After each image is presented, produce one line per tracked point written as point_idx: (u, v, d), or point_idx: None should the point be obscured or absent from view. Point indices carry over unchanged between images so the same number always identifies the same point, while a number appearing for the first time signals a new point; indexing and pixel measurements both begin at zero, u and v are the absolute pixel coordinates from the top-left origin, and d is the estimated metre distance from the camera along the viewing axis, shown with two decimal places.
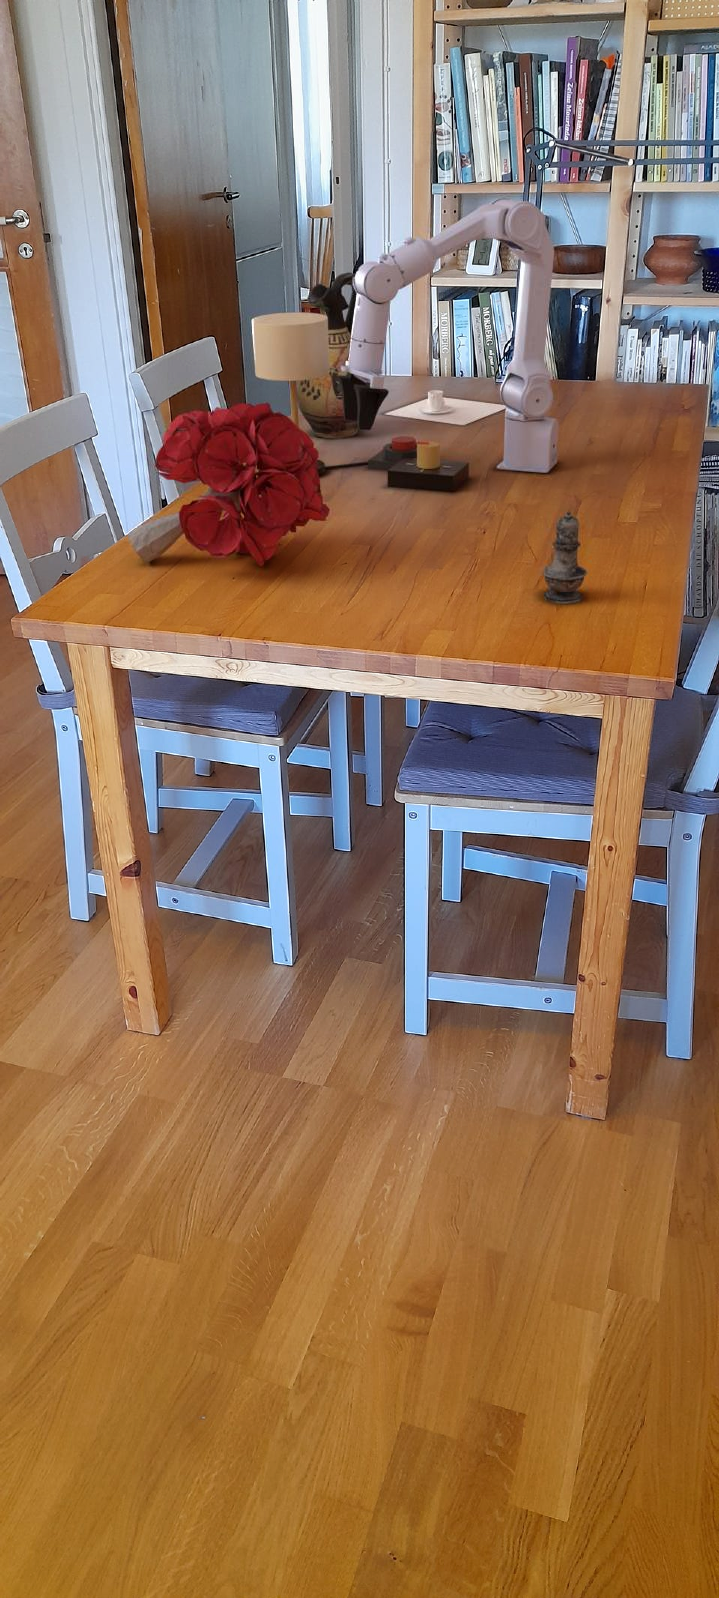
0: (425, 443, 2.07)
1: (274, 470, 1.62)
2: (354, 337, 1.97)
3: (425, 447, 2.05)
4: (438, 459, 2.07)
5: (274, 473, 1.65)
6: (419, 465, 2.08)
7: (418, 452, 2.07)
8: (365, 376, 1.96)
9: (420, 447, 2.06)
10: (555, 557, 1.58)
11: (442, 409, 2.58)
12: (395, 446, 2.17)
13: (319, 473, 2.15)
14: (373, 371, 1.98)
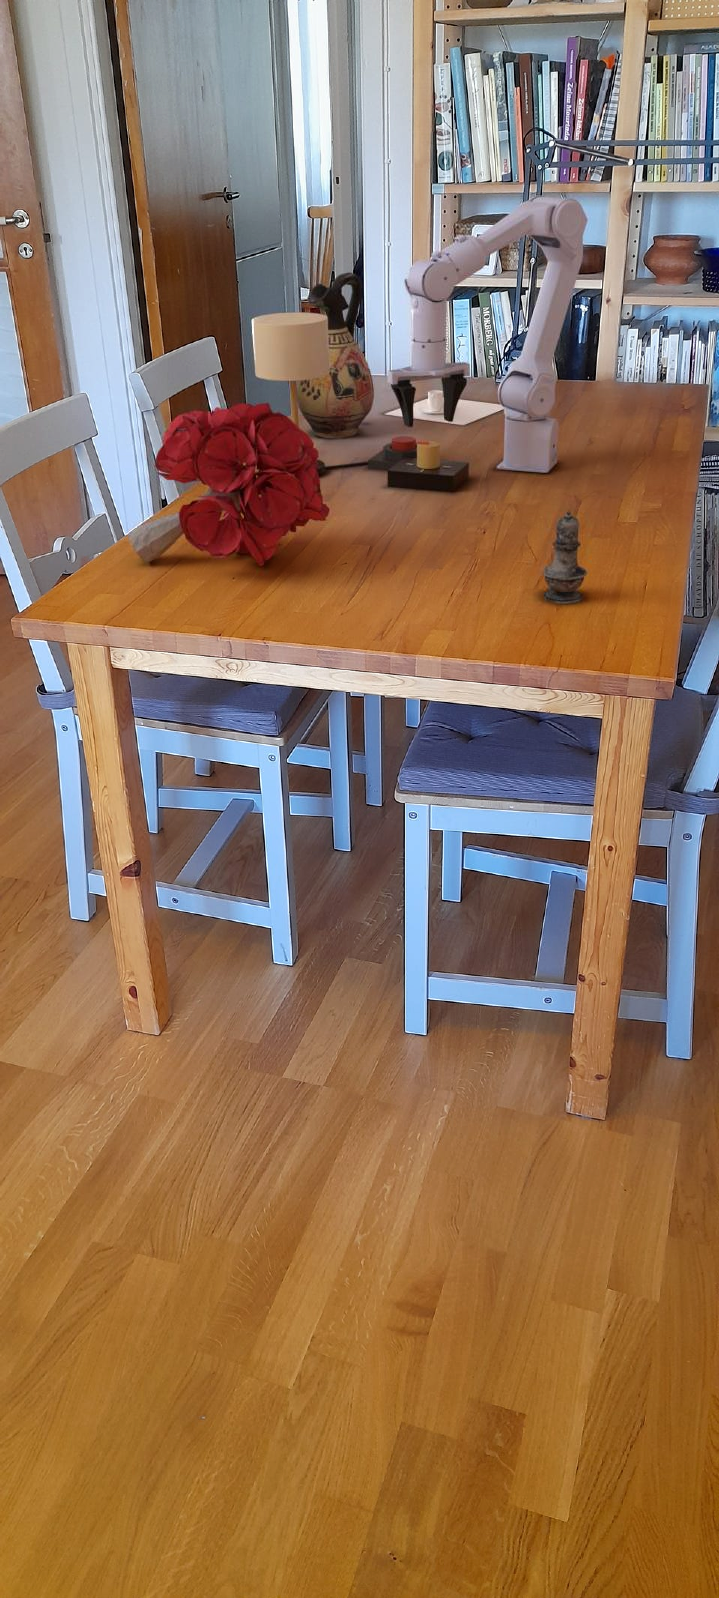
0: (425, 443, 2.07)
1: (274, 470, 1.62)
2: (417, 339, 1.96)
3: (425, 447, 2.05)
4: (438, 459, 2.07)
5: (274, 473, 1.65)
6: (419, 465, 2.08)
7: (418, 452, 2.07)
8: (459, 368, 2.01)
9: (420, 447, 2.06)
10: (555, 557, 1.58)
11: (442, 409, 2.58)
12: (395, 446, 2.17)
13: (319, 473, 2.15)
14: None
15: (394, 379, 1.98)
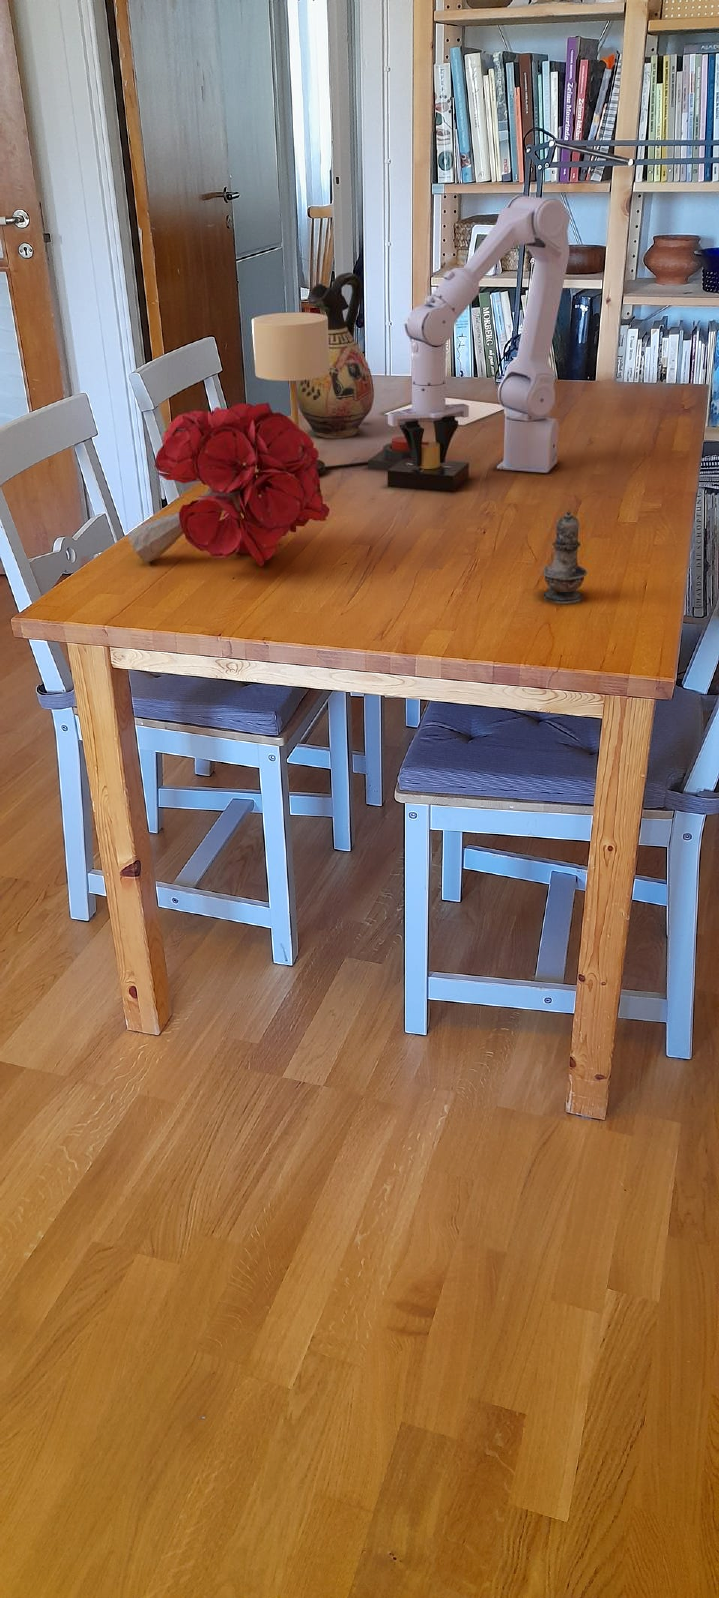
0: (425, 443, 2.07)
1: (274, 470, 1.62)
2: (417, 382, 2.00)
3: (425, 447, 2.05)
4: (438, 459, 2.07)
5: (274, 473, 1.65)
6: None
7: None
8: (458, 410, 2.05)
9: None
10: (555, 557, 1.58)
11: None
12: (395, 446, 2.17)
13: (319, 473, 2.15)
14: None
15: (395, 421, 2.01)
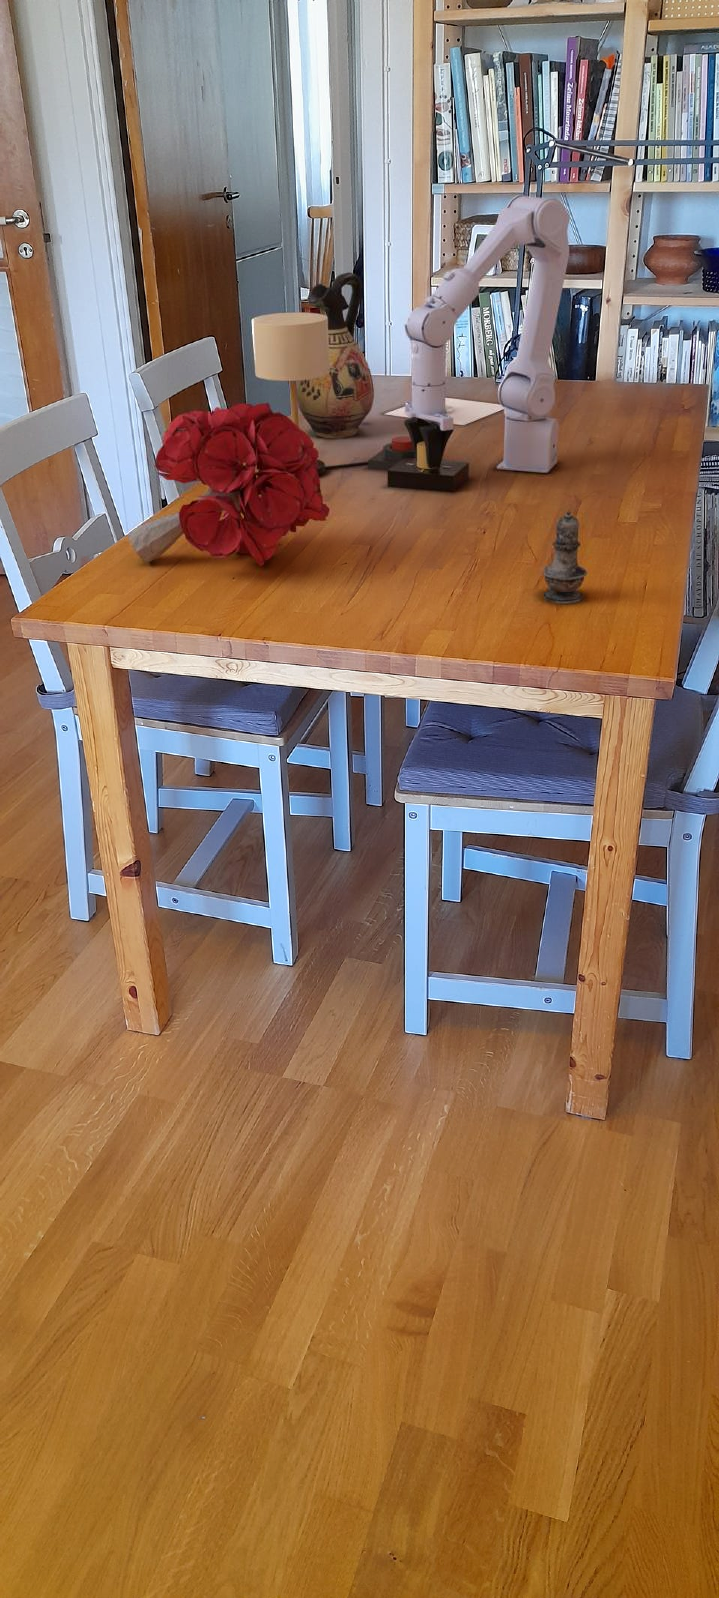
0: None
1: (274, 470, 1.62)
2: (417, 383, 2.00)
3: (417, 444, 2.07)
4: (423, 460, 2.07)
5: (274, 473, 1.65)
6: None
7: None
8: (434, 419, 2.00)
9: None
10: (555, 557, 1.58)
11: None
12: (395, 446, 2.17)
13: (319, 473, 2.15)
14: (439, 412, 2.02)
15: (406, 409, 2.09)
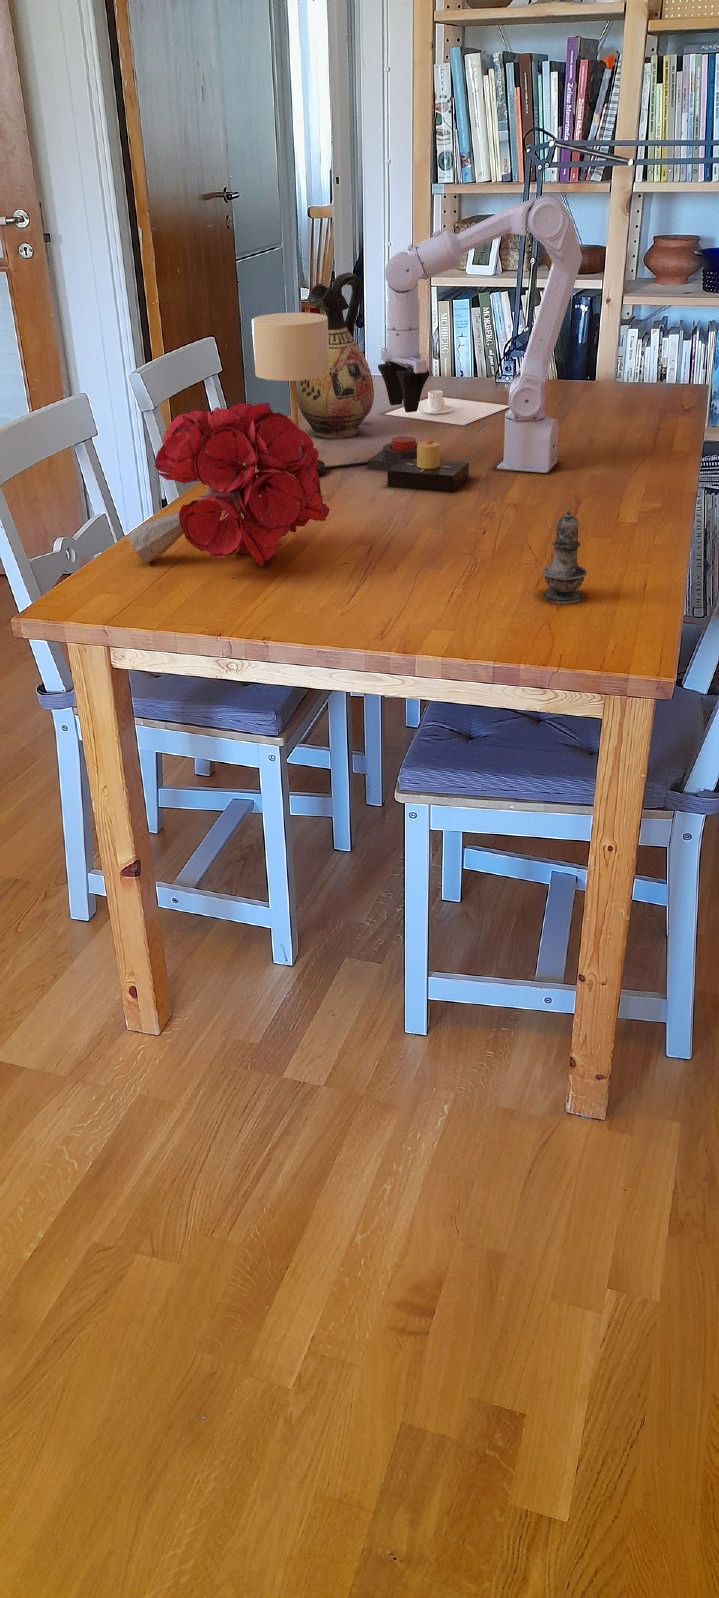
0: (427, 442, 2.07)
1: (274, 470, 1.62)
2: (387, 326, 2.08)
3: (417, 444, 2.07)
4: (423, 460, 2.07)
5: (274, 473, 1.65)
6: None
7: None
8: (407, 363, 2.06)
9: None
10: (555, 557, 1.58)
11: (442, 409, 2.58)
12: (395, 446, 2.17)
13: (319, 473, 2.15)
14: (413, 356, 2.08)
15: (382, 355, 2.16)
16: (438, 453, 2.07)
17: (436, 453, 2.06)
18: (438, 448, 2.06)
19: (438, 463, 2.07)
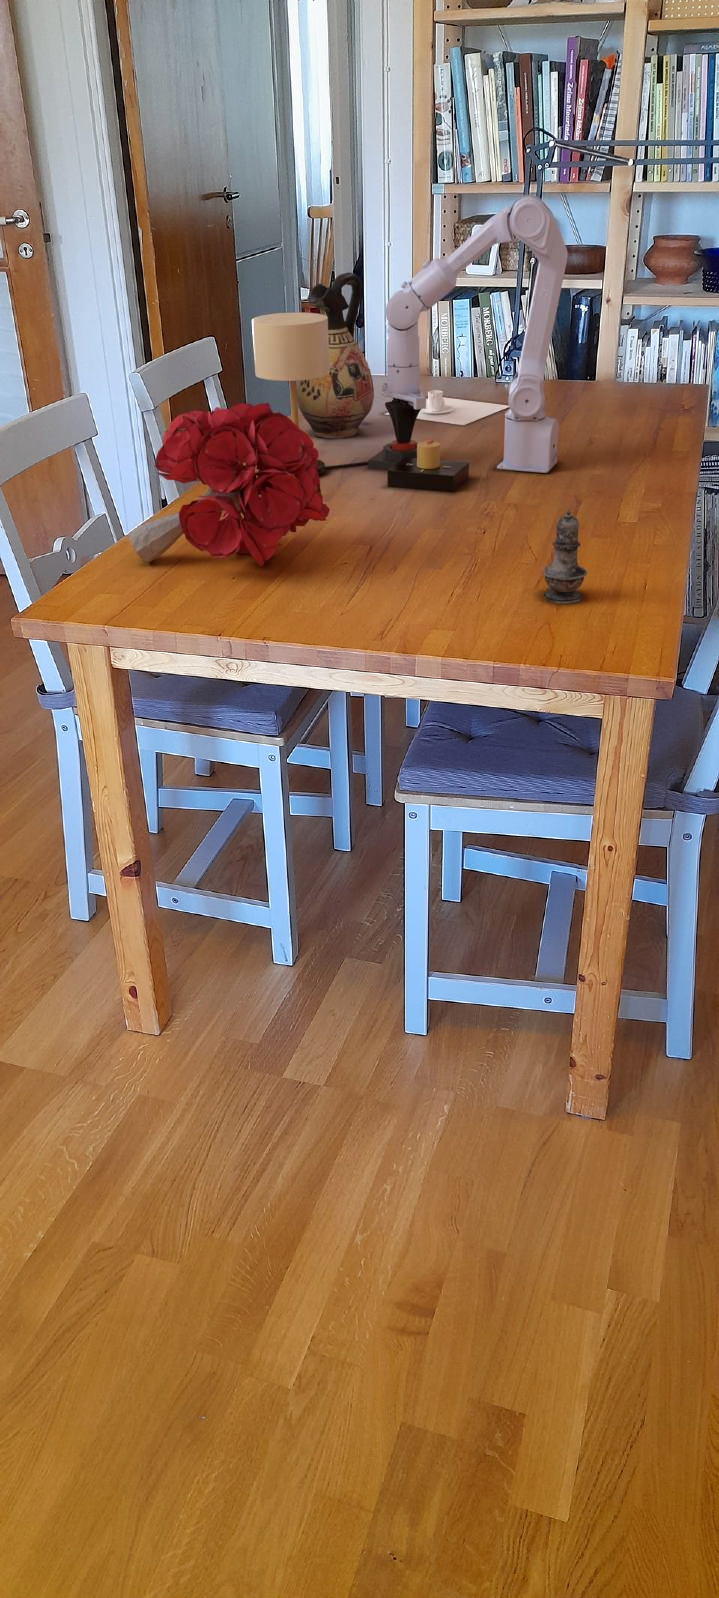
0: (427, 442, 2.07)
1: (274, 470, 1.62)
2: (387, 362, 2.11)
3: (417, 444, 2.07)
4: (423, 460, 2.07)
5: (274, 473, 1.65)
6: None
7: None
8: (407, 399, 2.09)
9: None
10: (555, 557, 1.58)
11: (442, 409, 2.58)
12: (395, 449, 2.17)
13: (319, 473, 2.15)
14: (413, 392, 2.11)
15: (382, 389, 2.19)
16: (438, 453, 2.07)
17: (436, 453, 2.06)
18: (438, 448, 2.06)
19: (438, 463, 2.07)
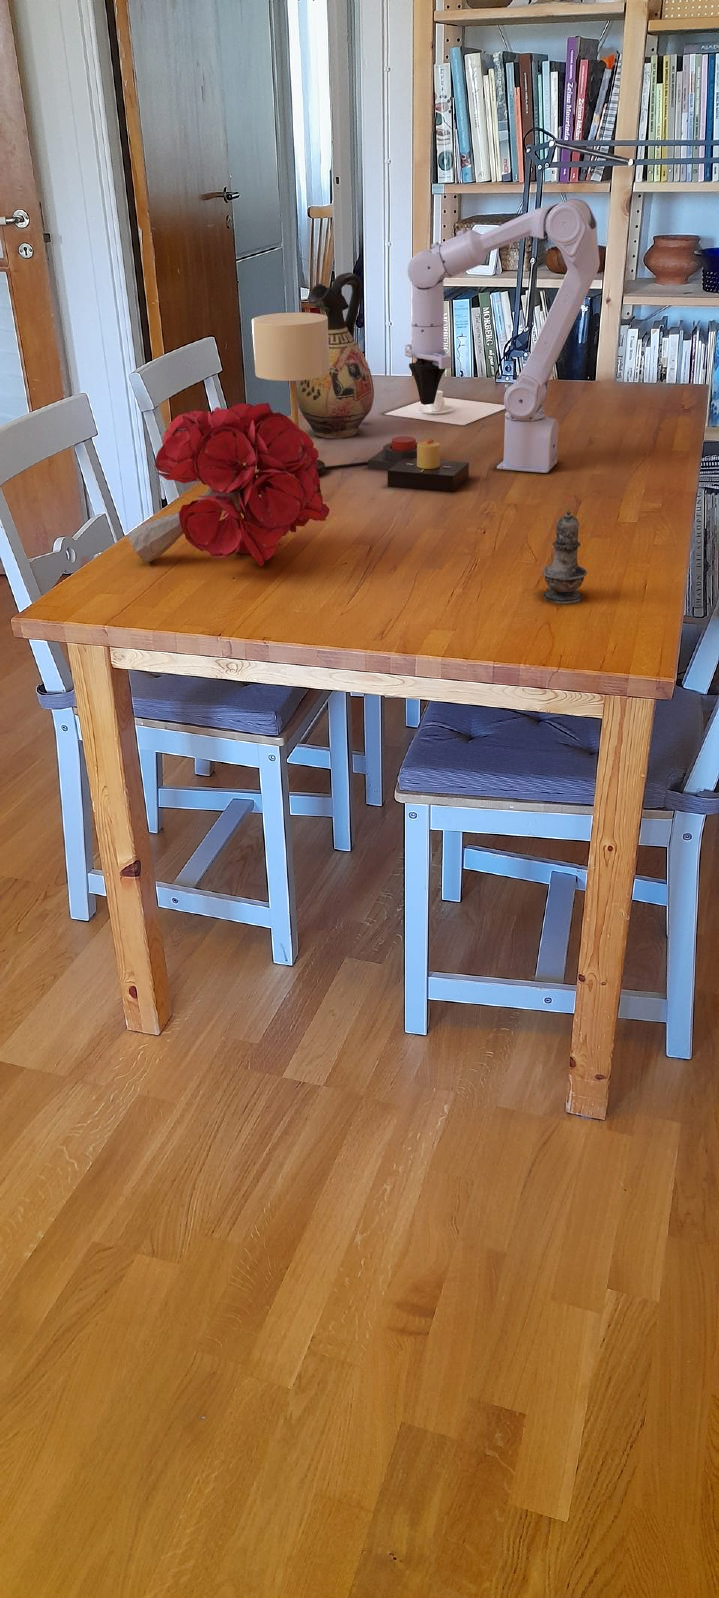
0: (427, 442, 2.07)
1: (274, 470, 1.62)
2: (411, 322, 2.11)
3: (417, 444, 2.07)
4: (423, 460, 2.07)
5: (274, 473, 1.65)
6: None
7: None
8: (432, 358, 2.09)
9: None
10: (555, 557, 1.58)
11: (442, 409, 2.58)
12: (395, 446, 2.17)
13: (319, 473, 2.15)
14: (437, 352, 2.11)
15: (406, 351, 2.19)
16: (438, 453, 2.07)
17: (436, 453, 2.06)
18: (438, 448, 2.06)
19: (438, 463, 2.07)
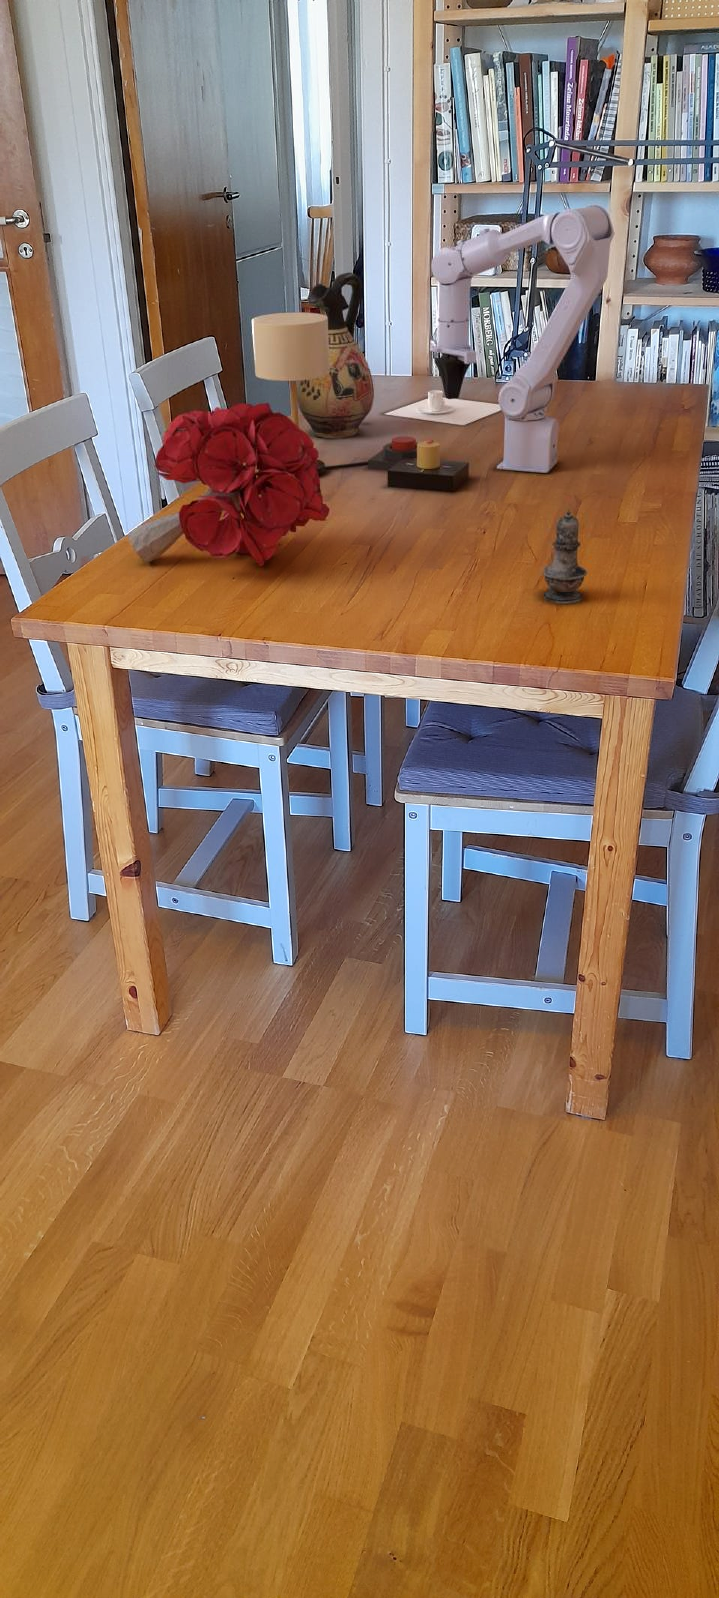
0: (427, 442, 2.07)
1: (274, 470, 1.62)
2: None
3: (417, 444, 2.07)
4: (423, 460, 2.07)
5: (274, 473, 1.65)
6: None
7: None
8: (458, 354, 2.12)
9: None
10: (555, 557, 1.58)
11: (442, 409, 2.58)
12: (395, 446, 2.17)
13: (319, 473, 2.15)
14: (463, 347, 2.14)
15: (431, 346, 2.22)
16: (438, 453, 2.07)
17: (436, 453, 2.06)
18: (438, 448, 2.06)
19: (438, 463, 2.07)
